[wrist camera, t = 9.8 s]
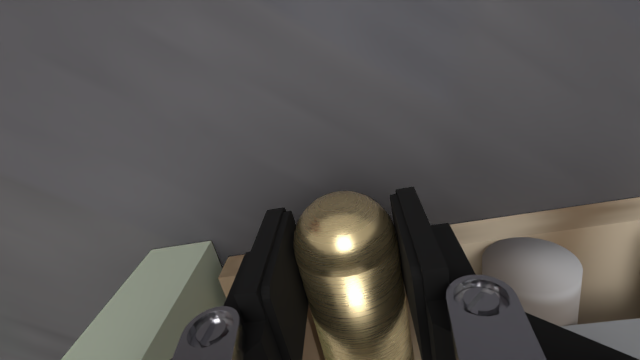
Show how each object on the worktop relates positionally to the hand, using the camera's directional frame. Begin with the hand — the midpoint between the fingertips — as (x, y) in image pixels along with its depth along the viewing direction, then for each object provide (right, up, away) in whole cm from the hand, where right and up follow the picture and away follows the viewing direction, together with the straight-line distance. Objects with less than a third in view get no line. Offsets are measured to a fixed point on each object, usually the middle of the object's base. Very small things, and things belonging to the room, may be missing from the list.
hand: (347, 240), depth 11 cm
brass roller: (+2, -6, +4) cm, 7 cm away
